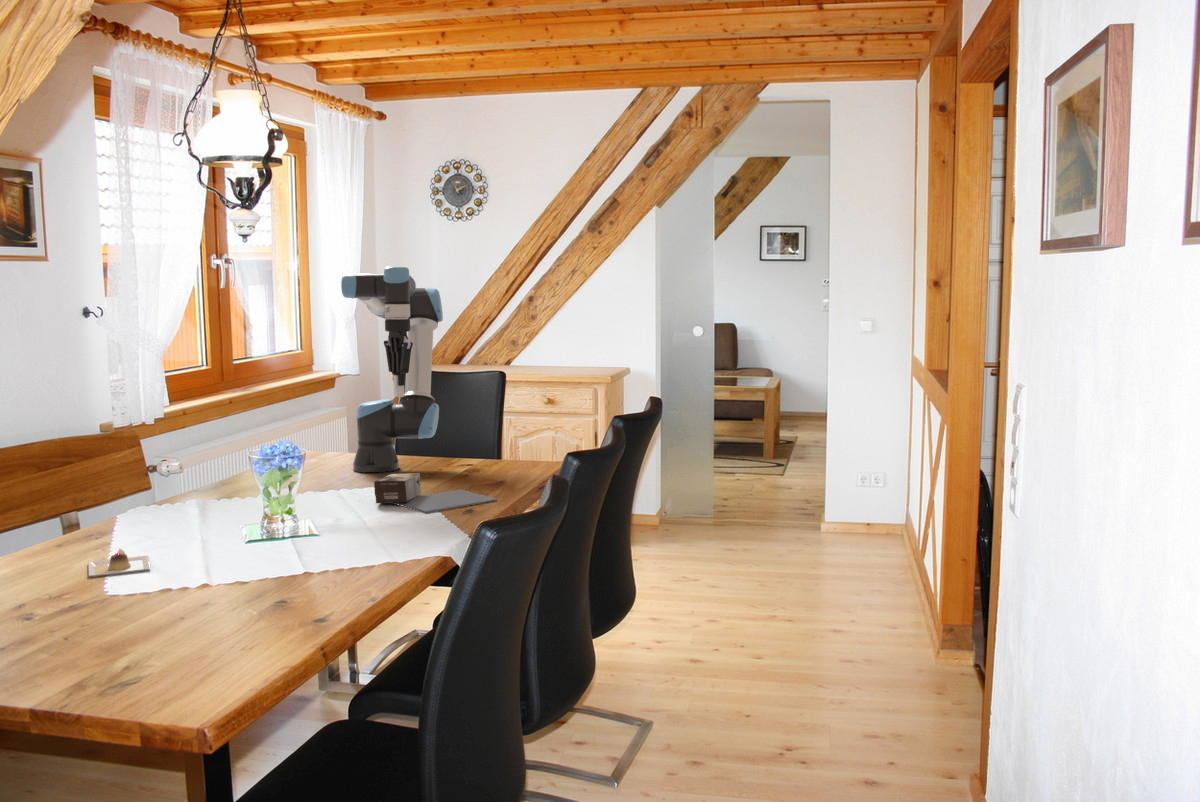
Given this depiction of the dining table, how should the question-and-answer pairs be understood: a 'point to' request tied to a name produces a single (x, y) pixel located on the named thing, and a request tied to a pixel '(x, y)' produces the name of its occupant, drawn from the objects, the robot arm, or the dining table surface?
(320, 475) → the dining table surface
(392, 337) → the robot arm
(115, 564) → the dessert
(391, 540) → the dining table surface
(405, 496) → the coffee box
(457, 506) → the mat
